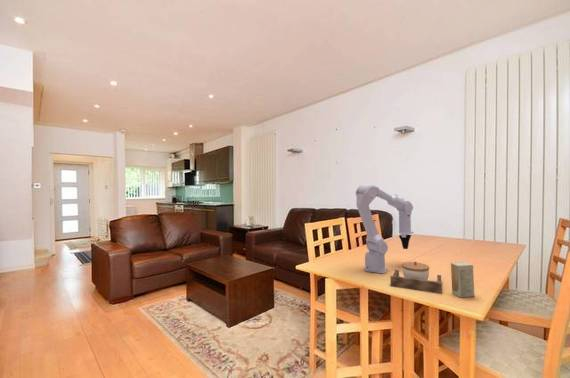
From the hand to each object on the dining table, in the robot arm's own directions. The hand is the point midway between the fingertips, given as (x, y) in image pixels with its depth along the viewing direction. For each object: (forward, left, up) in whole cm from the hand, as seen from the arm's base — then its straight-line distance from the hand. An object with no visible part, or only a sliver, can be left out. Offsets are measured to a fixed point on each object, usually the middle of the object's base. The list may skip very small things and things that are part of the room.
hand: (405, 248), depth 141 cm
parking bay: (+6, -25, -9) cm, 27 cm away
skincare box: (+23, -31, -10) cm, 40 cm away
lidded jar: (+6, -24, -10) cm, 27 cm away
